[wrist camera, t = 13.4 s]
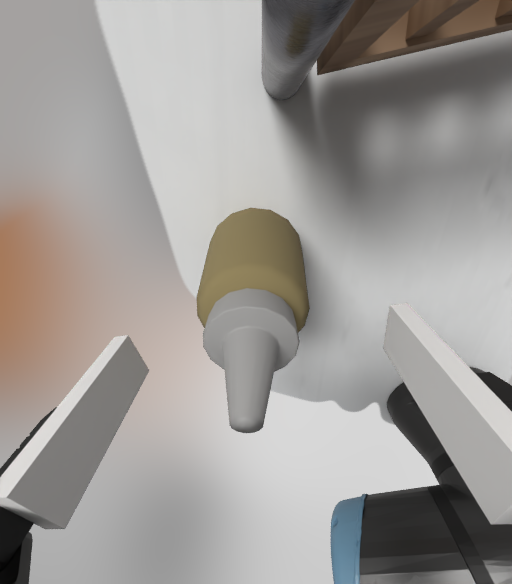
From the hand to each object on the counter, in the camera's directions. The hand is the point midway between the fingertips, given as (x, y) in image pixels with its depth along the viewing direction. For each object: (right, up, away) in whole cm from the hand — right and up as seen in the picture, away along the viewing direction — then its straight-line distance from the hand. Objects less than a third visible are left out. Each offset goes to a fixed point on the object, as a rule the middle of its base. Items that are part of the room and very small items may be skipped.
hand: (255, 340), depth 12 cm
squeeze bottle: (0, +8, +11) cm, 14 cm away
